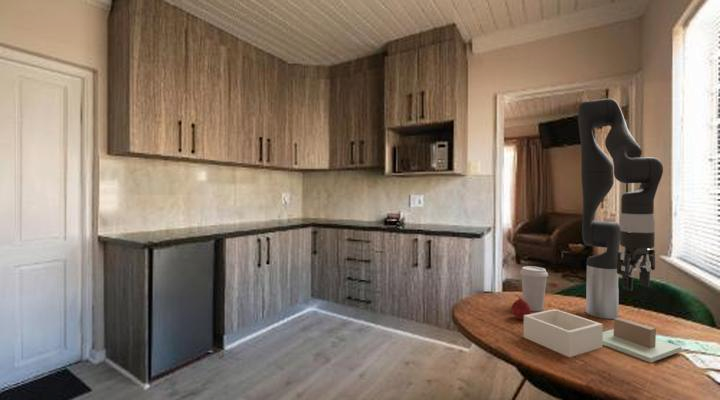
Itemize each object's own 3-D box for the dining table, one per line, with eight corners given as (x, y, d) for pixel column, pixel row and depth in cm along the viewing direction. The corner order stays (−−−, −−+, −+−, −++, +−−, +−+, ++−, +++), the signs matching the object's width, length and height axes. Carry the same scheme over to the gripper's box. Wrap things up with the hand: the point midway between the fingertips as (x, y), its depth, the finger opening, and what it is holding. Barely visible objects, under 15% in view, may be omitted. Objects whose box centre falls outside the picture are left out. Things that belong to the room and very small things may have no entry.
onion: (532, 324, 114) (532, 300, 114) (513, 322, 116) (514, 299, 115) (527, 318, 120) (527, 295, 120) (509, 316, 121) (510, 294, 121)
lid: (619, 334, 107) (620, 311, 107) (681, 354, 94) (681, 328, 94) (589, 343, 101) (589, 318, 101) (650, 366, 87) (651, 338, 87)
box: (555, 331, 109) (555, 308, 109) (602, 349, 96) (602, 324, 96) (523, 339, 103) (523, 315, 103) (569, 359, 90) (569, 332, 90)
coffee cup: (553, 312, 126) (553, 271, 125) (526, 312, 126) (526, 271, 126) (539, 304, 135) (540, 265, 135) (515, 304, 135) (515, 265, 135)
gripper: (635, 227, 103) (634, 281, 103) (607, 230, 97) (606, 288, 97) (666, 229, 96) (665, 287, 97) (638, 233, 90) (637, 295, 90)
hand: (636, 287), depth 97 cm, fingers open, 8 cm apart
